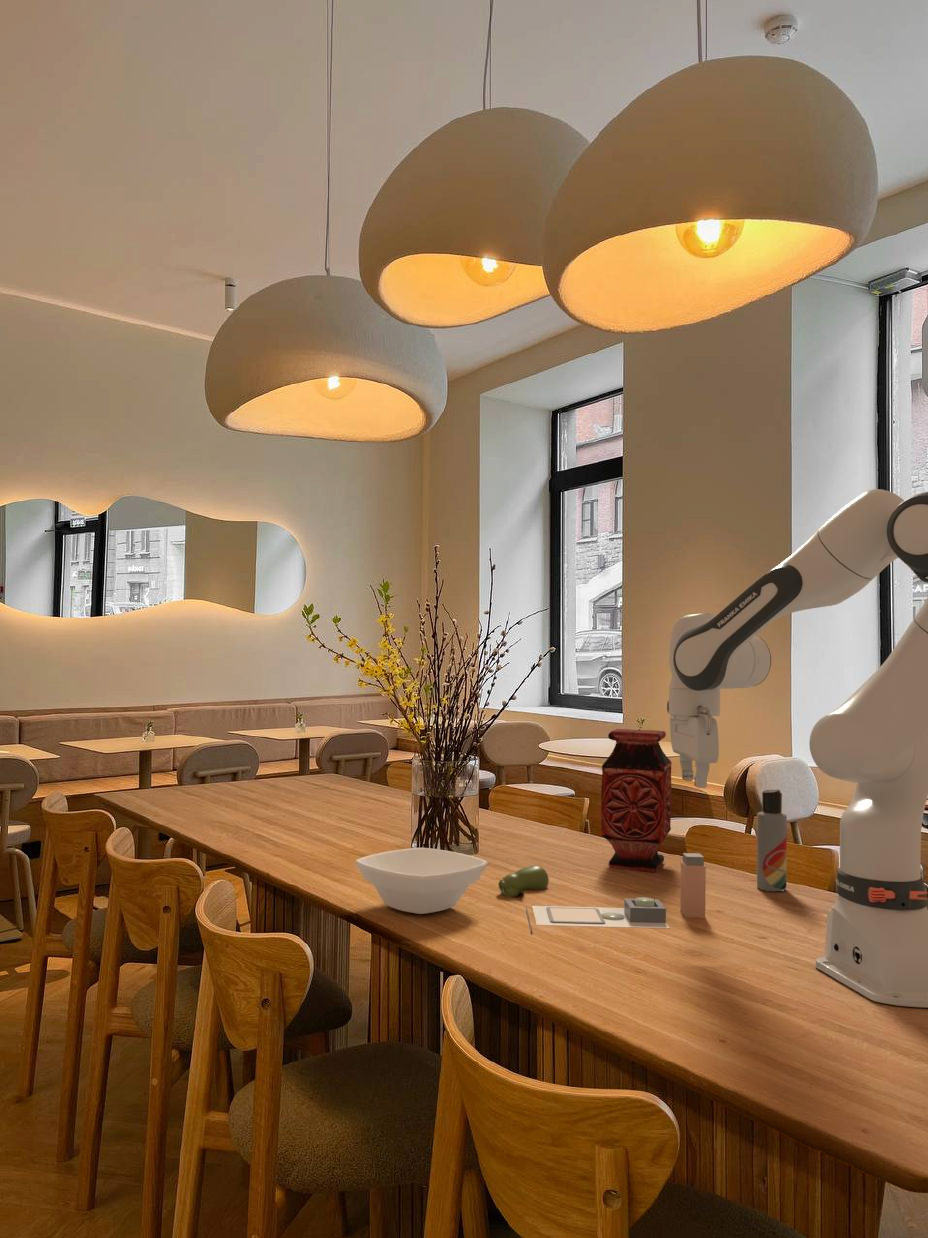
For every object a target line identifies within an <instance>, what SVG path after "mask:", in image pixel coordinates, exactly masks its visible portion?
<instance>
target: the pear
mask: <svg viewBox="0 0 928 1238" xmlns="http://www.w3.org/2000/svg"><path fill="white" fill-rule="evenodd" d="M549 881H550V880H549V875H548V873H547V871H546V870H545V869H544V868H543V867H542V866H540V865H530V866H526V867H522V868H520V869H518V870H517V871H515V872H514V873H509V874H507V875H505V876H504V877H503V878H502V879H501V880H499V881H498V888H499V890H500V893H501V894H502V895H504V896H505V897H507V898H515V897H517V896H519V895H520V894H521V893H522V892H524V891H537V890H538V891H539V890H545V889H547V888H548V886H549Z"/></svg>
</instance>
